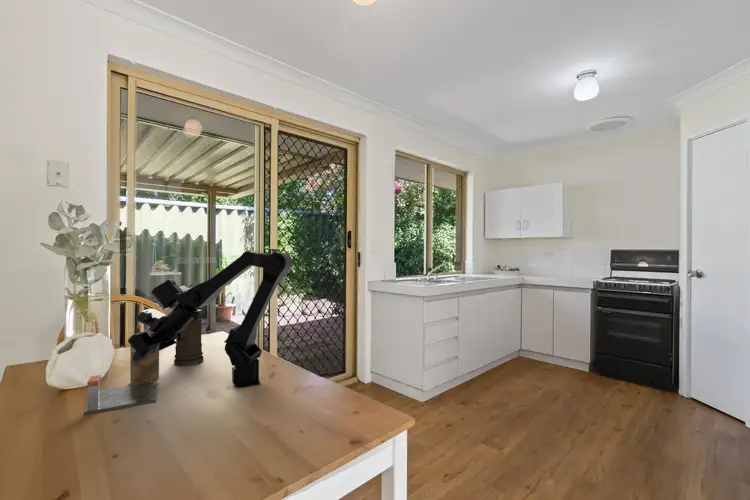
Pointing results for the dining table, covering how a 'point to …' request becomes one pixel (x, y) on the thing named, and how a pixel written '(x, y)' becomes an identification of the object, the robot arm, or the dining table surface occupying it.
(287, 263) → the robot arm
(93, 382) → the keeper
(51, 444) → the dining table surface
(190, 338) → the container
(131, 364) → the link block
